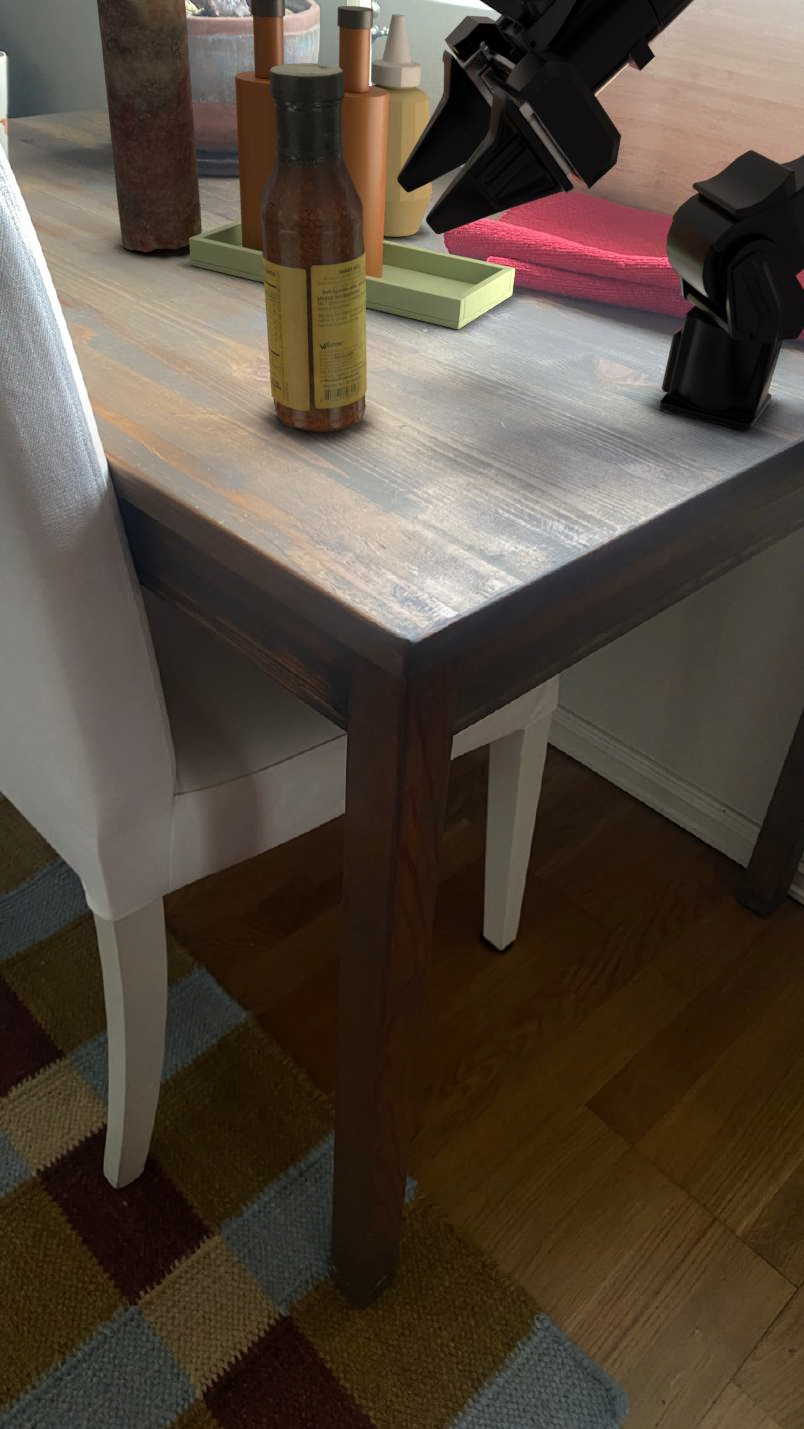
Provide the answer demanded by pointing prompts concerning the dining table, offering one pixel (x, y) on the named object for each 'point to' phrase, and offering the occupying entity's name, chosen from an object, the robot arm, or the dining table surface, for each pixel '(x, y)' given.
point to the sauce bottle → (313, 257)
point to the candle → (151, 121)
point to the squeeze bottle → (402, 128)
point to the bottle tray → (399, 285)
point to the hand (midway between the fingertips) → (415, 206)
